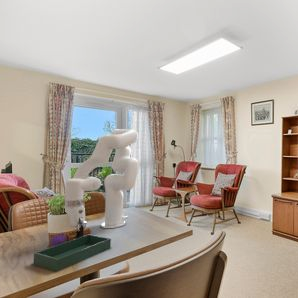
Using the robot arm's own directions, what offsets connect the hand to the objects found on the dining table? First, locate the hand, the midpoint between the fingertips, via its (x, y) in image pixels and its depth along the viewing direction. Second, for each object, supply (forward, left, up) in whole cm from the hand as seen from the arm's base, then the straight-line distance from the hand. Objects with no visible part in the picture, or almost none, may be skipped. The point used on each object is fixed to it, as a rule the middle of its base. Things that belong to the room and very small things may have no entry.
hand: (72, 236), depth 115 cm
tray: (+10, +17, -2) cm, 20 cm away
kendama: (0, 0, -2) cm, 2 cm away
